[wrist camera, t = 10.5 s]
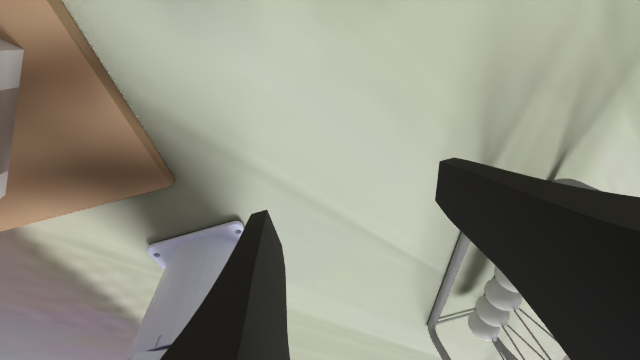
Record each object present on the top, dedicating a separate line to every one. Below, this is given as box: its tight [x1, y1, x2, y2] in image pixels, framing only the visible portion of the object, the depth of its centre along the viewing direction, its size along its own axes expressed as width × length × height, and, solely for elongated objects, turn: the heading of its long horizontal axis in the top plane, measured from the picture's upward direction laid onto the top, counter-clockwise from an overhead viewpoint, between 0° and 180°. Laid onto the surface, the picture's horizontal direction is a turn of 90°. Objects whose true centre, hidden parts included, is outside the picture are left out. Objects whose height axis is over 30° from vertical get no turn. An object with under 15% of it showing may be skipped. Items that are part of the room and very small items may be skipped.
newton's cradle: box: [428, 179, 600, 360], centre depth 25 cm, size 30×10×18 cm, turn 4°
